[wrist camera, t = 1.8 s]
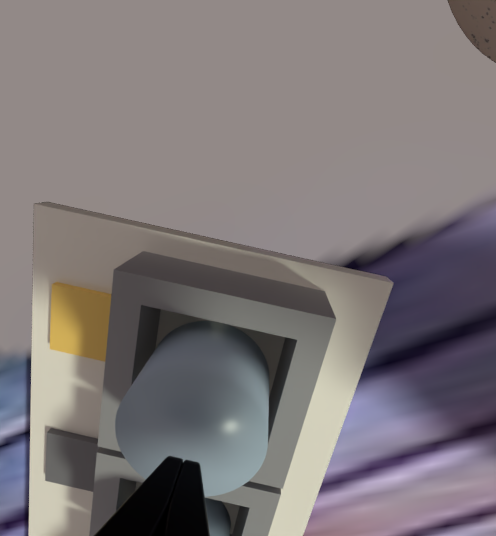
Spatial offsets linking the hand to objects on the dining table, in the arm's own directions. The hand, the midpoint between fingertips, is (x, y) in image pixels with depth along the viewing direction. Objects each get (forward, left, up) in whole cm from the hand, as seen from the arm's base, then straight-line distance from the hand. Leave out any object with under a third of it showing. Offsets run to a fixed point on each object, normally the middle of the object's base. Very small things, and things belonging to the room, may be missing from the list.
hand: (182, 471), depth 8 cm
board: (+1, +7, -7) cm, 10 cm away
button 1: (0, 0, -4) cm, 4 cm away
